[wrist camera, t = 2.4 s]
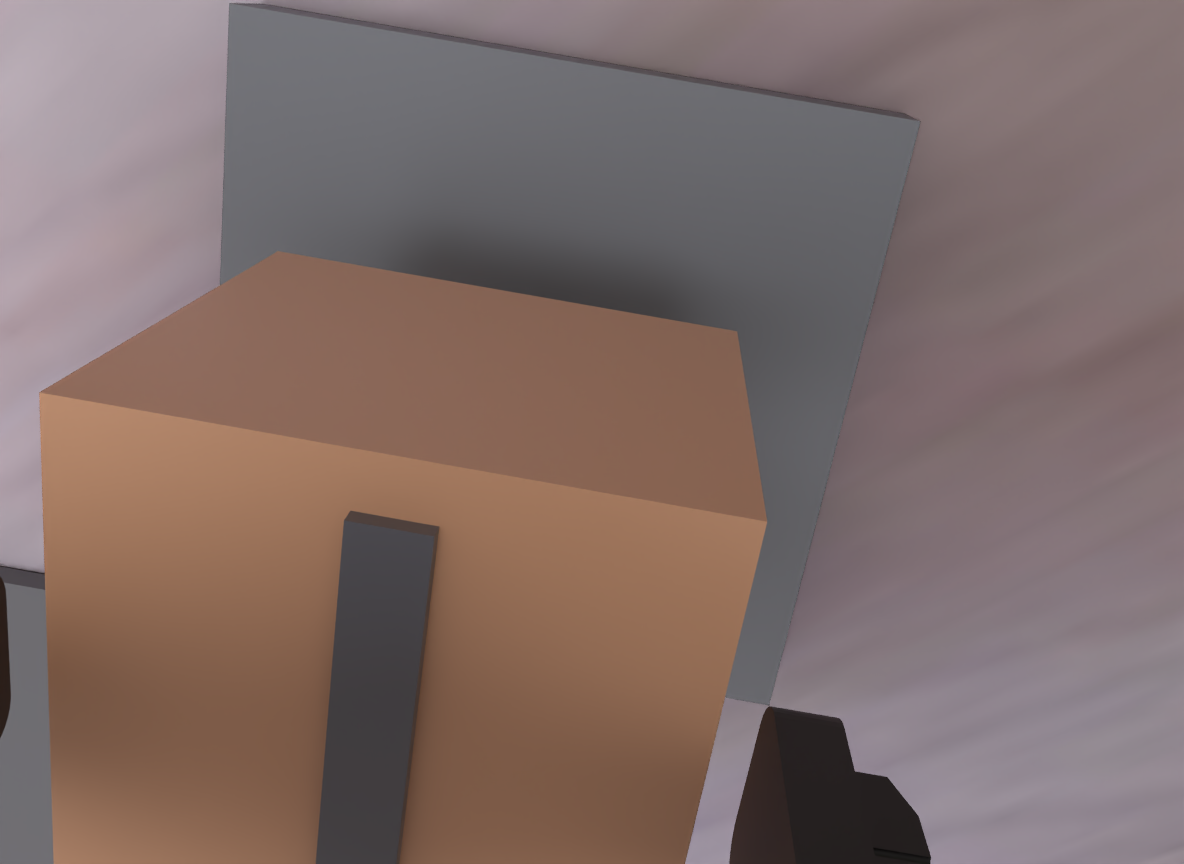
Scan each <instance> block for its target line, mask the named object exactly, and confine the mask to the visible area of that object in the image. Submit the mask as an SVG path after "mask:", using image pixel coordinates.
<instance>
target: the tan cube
mask: <svg viewBox="0 0 1184 864" xmlns="http://www.w3.org/2000/svg"><path fill="white" fill-rule="evenodd" d="M39 397H40V430H41V463H42V497H43V530H44V563H45V596H46V629H47V662H48V695H49V728H50V762H51V795H52V828H53V861H54V864H685V861H686V857H687V853H688V849H689V844H690V840H691V836H692V832H693V828H694V824H695V819H696V815H697V811H698V807H699V803H700V799H701V795H702V790H703V786H704V782H705V778H706V774H707V770H708V766H709V761H710V757H711V753H712V749H713V745H714V741H715V736H716V732H717V728H718V724H719V720H720V716H721V712H722V707H723V703H724V699H725V695H726V691H727V687H728V683H729V678H730V674H731V670H732V666H733V662H734V658H735V654H736V649H737V645H738V641H739V637H740V633H741V629H742V624H743V620H744V616H745V612H746V608H747V604H748V600H749V595H750V591H751V587H752V583H753V579H754V575H755V571H756V566H757V562H758V558H759V554H760V550H761V546H762V541H763V537H764V533H765V529H766V525H767V517H766V511H765V504H764V498H763V492H762V485H761V479H760V473H759V466H758V460H757V454H756V447H755V441H754V435H753V428H752V422H751V416H750V409H749V403H748V397H747V390H746V384H745V378H744V371H743V365H742V359H741V352H740V346H739V340H738V333H737V331H732V330H727V329H721V328H715V327H709V326H704V325H698V324H692V323H687V322H681V321H675V320H669V319H664V318H658V317H652V316H647V315H641V314H635V313H629V312H624V311H618V310H612V309H606V308H601V307H595V306H589V305H584V304H578V303H572V302H566V301H561V300H555V299H549V298H544V297H538V296H532V295H526V294H521V293H515V292H509V291H503V290H498V289H492V288H486V287H481V286H475V285H469V284H463V283H458V282H452V281H446V280H440V279H435V278H429V277H423V276H418V275H412V274H406V273H400V272H395V271H389V270H383V269H378V268H372V267H366V266H360V265H355V264H349V263H343V262H337V261H332V260H326V259H320V258H315V257H309V256H303V255H297V254H292V253H286V252H280V251H277V252H276V253H274V254H272V255H271V256H269V257H267V258H266V259H264V260H262V261H260V262H259V263H257V264H255V265H254V266H252V267H250V268H249V269H247V270H245V271H244V272H242V273H240V274H239V275H237V276H235V277H233V278H232V279H230V280H228V281H227V282H225V283H223V284H222V285H220V286H218V287H217V288H215V289H213V290H212V291H210V292H208V293H206V294H205V295H203V296H201V297H200V298H198V299H196V300H195V301H193V302H191V303H190V304H188V305H186V306H184V307H183V308H181V309H179V310H178V311H176V312H174V313H173V314H171V315H169V316H168V317H166V318H164V319H163V320H161V321H159V322H157V323H156V324H154V325H152V326H151V327H149V328H147V329H146V330H144V331H142V332H141V333H139V334H137V335H136V336H134V337H132V338H130V339H129V340H127V341H125V342H124V343H122V344H120V345H119V346H117V347H115V348H114V349H112V350H110V351H108V352H107V353H105V354H103V355H102V356H100V357H98V358H97V359H95V360H93V361H92V362H90V363H88V364H87V365H85V366H83V367H81V368H80V369H78V370H76V371H75V372H73V373H71V374H70V375H68V376H66V377H65V378H63V379H61V380H60V381H58V382H56V383H54V384H53V385H51V386H49V387H48V388H46V389H44V390H43V391H41V392H39Z"/></svg>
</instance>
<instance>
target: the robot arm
mask: <svg viewBox="0 0 1184 864" xmlns="http://www.w3.org/2000/svg"><path fill="white" fill-rule="evenodd" d="M10 703H11V684H10V663H9V641H8V620H7V599H6V589H5V585H4V582H3V580H2V578H1V577H0V738H1V736H2V734H3V731H4V728H5V726H6V723H7V719H8V715H9V710H10ZM930 860H931V856H930V852H929V849H928V846H927V843H926V839H925V836H924V833H923V829H922V826H921V823H920V820H919V816H918V815H917V814H916V812H915V811H914V810H913V809H912V807H911V806H910V805H909V804H908V802H907V801H906V800H905V799H904V798H903V796H902V795H901V794H900V793H899V791H898V790H897V789H896V788H895V786H894V785H893V784H892V783H891V781H890V780H889V779H888V778H887V777H883V776H878V775H872V774H866V773H860V772H855V771H854V766H853V762H852V758H851V754H850V750H849V746H848V741H847V737H846V733H845V729H844V726H843V723H842V721H841V720H840V719H839V718H835V717H829V716H823V715H817V714H811V713H806V712H800V711H794V710H788V709H782V708H776V707H770V706H769V707H768V708H767V709H766V711H765V713H764V715H763V718H762V721H761V724H760V728H759V732H758V736H757V740H756V744H755V748H754V752H753V756H752V759H751V763H750V767H749V771H748V775H747V779H746V783H745V787H744V791H743V795H742V799H741V803H740V807H739V810H738V814H737V818H736V822H735V827H734V832H733V838H732V844H731V852H730V863H729V864H930Z"/></svg>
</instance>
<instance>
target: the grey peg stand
mask: <svg viewBox="0 0 1184 864" xmlns="http://www.w3.org/2000/svg"><path fill="white" fill-rule="evenodd" d="M920 122H921V121H919V120H917V119H914V118H912V117H910V116H908V115H906V114H903V113H898V112H892V111H886V110H880V109H874V108H868V107H862V106H857V105H851V104H845V103H839V102H833V101H827V100H821V99H816V98H810V97H804V96H798V95H792V94H786V93H781V92H775V91H769V90H763V89H757V88H751V87H745V86H740V85H734V84H728V83H722V82H716V81H710V80H704V79H699V78H693V77H687V76H681V75H675V74H669V73H663V72H658V71H652V70H646V69H640V68H634V67H628V66H622V65H617V64H611V63H605V62H599V61H593V60H587V59H581V58H576V57H570V56H564V55H558V54H552V53H546V52H540V51H535V50H529V49H523V48H517V47H511V46H505V45H499V44H494V43H488V42H482V41H476V40H470V39H464V38H458V37H453V36H447V35H441V34H435V33H429V32H423V31H417V30H412V29H406V28H400V27H394V26H388V25H382V24H376V23H371V22H365V21H359V20H353V19H347V18H341V17H335V16H330V15H324V14H318V13H312V12H306V11H300V10H294V9H289V8H283V7H277V6H271V5H265V4H243V3H229V28H228V59H227V89H226V119H225V149H224V179H223V209H222V240H221V270H220V285H222V284H223V283H225V282H227V281H228V280H230V279H232V278H233V277H235V276H237V275H239V274H240V273H242V272H244V271H245V270H247V269H249V268H250V267H252V266H254V265H255V264H257V263H259V262H260V261H262V260H264V259H266V258H267V257H269V256H271V255H272V254H274V253H276V252H277V251H280V252H286V253H292V254H297V255H303V256H309V257H315V258H320V259H326V260H332V261H337V262H343V263H349V264H355V265H360V266H366V267H372V268H378V269H383V270H389V271H395V272H400V273H406V274H412V275H418V276H423V277H429V278H435V279H440V280H446V281H452V282H458V283H463V284H469V285H475V286H481V287H486V288H492V289H498V290H503V291H509V292H515V293H521V294H526V295H532V296H538V297H544V298H549V299H555V300H561V301H566V302H572V303H578V304H584V305H589V306H595V307H601V308H606V309H612V310H618V311H624V312H629V313H635V314H641V315H647V316H652V317H658V318H664V319H669V320H675V321H681V322H687V323H692V324H698V325H704V326H709V327H715V328H721V329H727V330H732V331H737V333H738V340H739V346H740V352H741V359H742V365H743V371H744V378H745V384H746V390H747V397H748V403H749V409H750V416H751V422H752V428H753V435H754V441H755V447H756V454H757V460H758V466H759V473H760V479H761V485H762V492H763V498H764V504H765V511H766V517H767V525H766V529H765V533H764V537H763V541H762V546H761V550H760V554H759V558H758V562H757V566H756V571H755V575H754V579H753V583H752V587H751V591H750V595H749V600H748V604H747V608H746V612H745V616H744V620H743V624H742V629H741V633H740V637H739V641H738V645H737V649H736V654H735V658H734V662H733V666H732V670H731V674H730V678H729V683H728V687H727V691H726V695H725V697H726V698H731V699H737V700H742V701H748V702H754V703H759V704H765V705H769V704H770V700H771V696H772V692H773V688H774V684H775V680H776V677H777V673H778V669H779V665H780V661H781V657H782V653H783V650H784V646H785V642H786V638H787V634H788V630H789V626H790V623H791V619H792V615H793V611H794V607H795V603H796V599H797V596H798V592H799V588H800V584H801V580H802V576H803V573H804V569H805V565H806V561H807V557H808V553H809V549H810V546H811V542H812V538H813V534H814V530H815V526H816V522H817V519H818V515H819V511H820V507H821V503H822V499H823V495H824V492H825V488H826V484H827V480H828V476H829V472H830V468H831V465H832V461H833V457H834V453H835V449H836V445H837V441H838V438H839V434H840V430H841V426H842V422H843V418H844V415H845V411H846V407H847V403H848V399H849V395H850V391H851V388H852V384H853V380H854V376H855V372H856V368H857V364H858V361H859V357H860V353H861V349H862V345H863V341H864V337H865V334H866V330H867V326H868V322H869V318H870V314H871V310H872V307H873V303H874V299H875V295H876V291H877V287H878V284H879V280H880V276H881V272H882V268H883V264H884V260H885V257H886V253H887V249H888V245H889V241H890V237H891V233H892V230H893V226H894V222H895V218H896V214H897V210H898V206H899V203H900V199H901V195H902V191H903V187H904V183H905V179H906V176H907V172H908V168H909V164H910V160H911V156H912V152H913V149H914V145H915V141H916V137H917V133H918V129H919V126H920Z"/></svg>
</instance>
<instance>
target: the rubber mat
mask: <svg viewBox="0 0 1184 864" xmlns="http://www.w3.org/2000/svg"><path fill="white" fill-rule="evenodd" d="M0 577H1V578H2V580H3V582H4V585H5V589H6V599H7V620H8V641H9V663H10V684H11V703H10V710H9V715H8V719H7V723H6V726H5V728H4V731H3V734H2V736H1V738H0V864H54V861H53V828H52V795H51V762H50V728H49V695H48V662H47V629H46V596H45V574H40V573H34V572H28V571H23V570H17V569H12V568H6V567H1V566H0Z"/></svg>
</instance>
